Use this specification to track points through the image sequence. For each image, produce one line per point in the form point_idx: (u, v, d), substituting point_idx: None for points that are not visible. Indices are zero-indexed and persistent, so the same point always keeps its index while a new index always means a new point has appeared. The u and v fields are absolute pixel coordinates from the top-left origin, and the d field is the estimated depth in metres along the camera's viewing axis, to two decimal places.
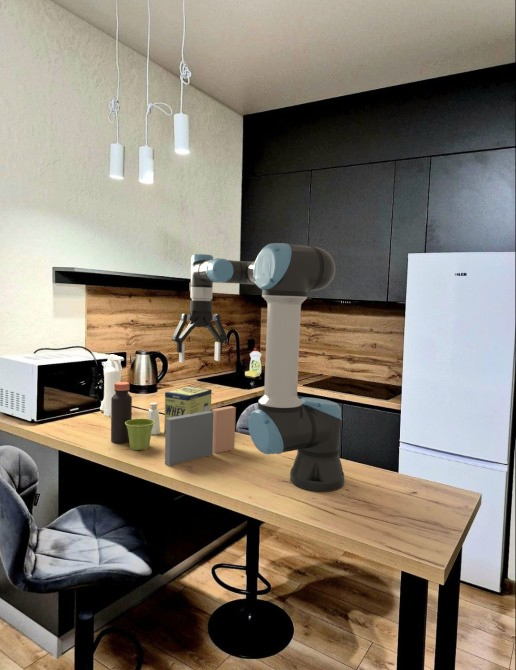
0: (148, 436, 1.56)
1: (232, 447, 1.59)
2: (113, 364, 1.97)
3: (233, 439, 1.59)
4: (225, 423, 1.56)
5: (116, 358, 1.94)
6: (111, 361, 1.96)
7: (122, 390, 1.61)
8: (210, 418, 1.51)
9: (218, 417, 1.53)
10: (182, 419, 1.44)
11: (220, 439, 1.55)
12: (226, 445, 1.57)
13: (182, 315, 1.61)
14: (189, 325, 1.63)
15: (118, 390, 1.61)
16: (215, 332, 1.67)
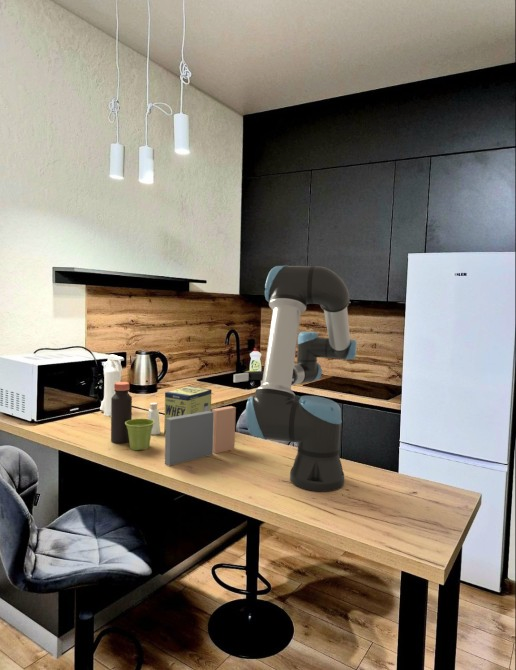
0: (148, 436, 1.56)
1: (232, 447, 1.59)
2: (113, 364, 1.97)
3: (233, 439, 1.59)
4: (225, 423, 1.56)
5: (116, 358, 1.94)
6: (111, 361, 1.96)
7: (122, 390, 1.61)
8: (210, 418, 1.51)
9: (218, 417, 1.53)
10: (182, 419, 1.44)
11: (220, 439, 1.55)
12: (226, 445, 1.57)
13: None
14: None
15: (118, 390, 1.61)
16: None
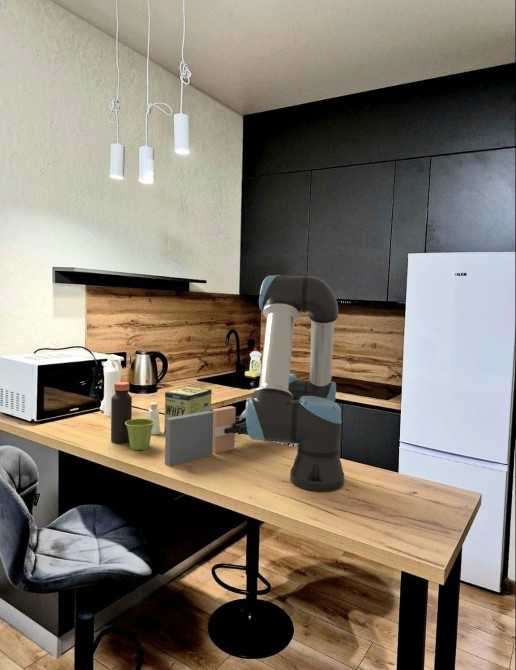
0: (148, 436, 1.56)
1: (232, 447, 1.59)
2: (113, 364, 1.97)
3: (233, 439, 1.59)
4: (225, 423, 1.56)
5: (116, 358, 1.94)
6: (111, 361, 1.96)
7: (122, 390, 1.61)
8: (210, 418, 1.51)
9: (218, 417, 1.53)
10: (182, 419, 1.44)
11: (220, 439, 1.55)
12: (226, 445, 1.57)
13: None
14: None
15: (118, 390, 1.61)
16: (242, 423, 1.60)
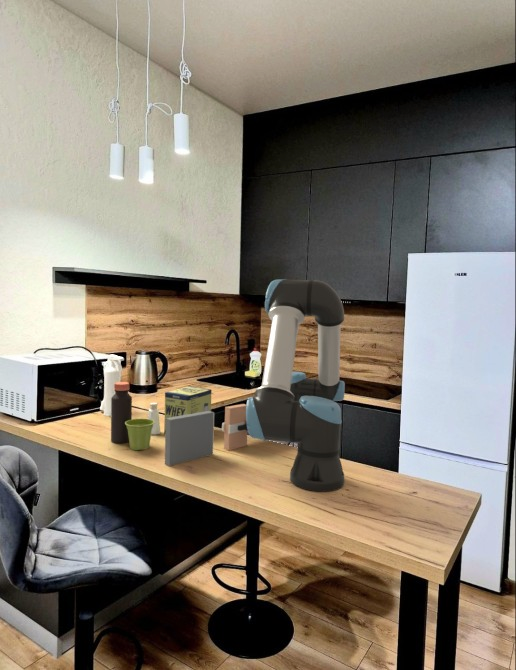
0: (148, 436, 1.56)
1: (245, 444, 1.62)
2: (113, 364, 1.97)
3: (246, 436, 1.62)
4: (238, 420, 1.59)
5: (116, 358, 1.94)
6: (111, 361, 1.96)
7: (122, 390, 1.61)
8: (210, 418, 1.51)
9: (231, 414, 1.57)
10: (182, 419, 1.44)
11: (233, 436, 1.59)
12: (239, 442, 1.60)
13: None
14: None
15: (118, 390, 1.61)
16: None
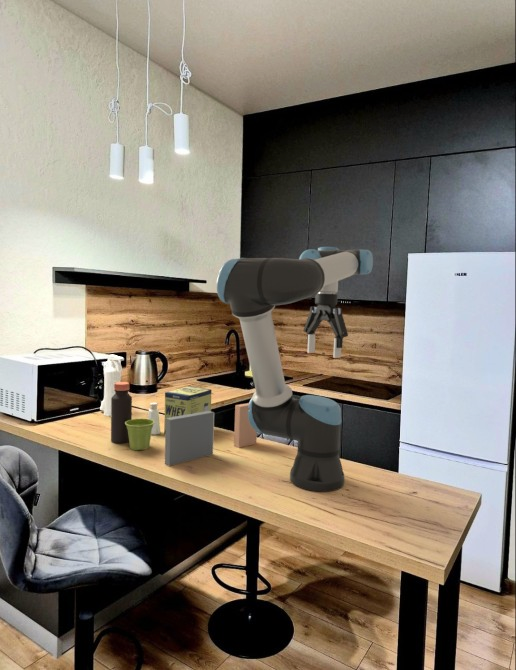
0: (148, 436, 1.56)
1: (254, 441, 1.65)
2: (113, 364, 1.97)
3: (255, 434, 1.65)
4: None
5: (116, 358, 1.94)
6: (111, 361, 1.96)
7: (122, 390, 1.61)
8: (210, 418, 1.51)
9: (241, 412, 1.60)
10: (182, 419, 1.44)
11: (243, 433, 1.62)
12: (248, 440, 1.63)
13: None
14: None
15: (118, 390, 1.61)
16: (332, 326, 1.59)
